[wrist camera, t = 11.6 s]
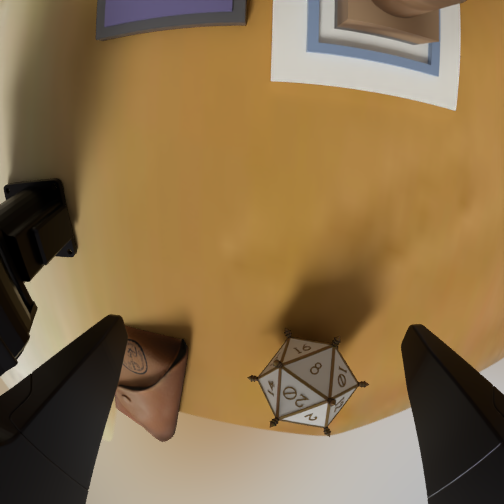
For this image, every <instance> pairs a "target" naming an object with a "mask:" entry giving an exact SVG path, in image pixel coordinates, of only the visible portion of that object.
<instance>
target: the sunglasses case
mask: <svg viewBox="0 0 504 504" xmlns="http://www.w3.org/2000/svg"><path fill="white" fill-rule="evenodd" d="M125 328H126V331H127V334H128V342H127V346H126V351H125V355H124V360H123V365H122V369H121V374H120V379H119V383H118V386H117V389H116V392H115V401H116V408H117V409H118V410H119V411H121V412H122V413H124V414H125V415H127V416H128V417H129V418H131V419H132V420H134V421H135V422H137V423H138V424H139V425H141V426H142V427H144V428H145V429H146V430H147V431H148V432H149V433H150V434H151V435H152V436H154V437H155V438H156V439H158V440H159V441H162V442H163V441H167V440H169V439H171V437H173V435H174V433H175V429H176V425H177V419H178V412H179V406H180V400H181V393H182V388H183V382H184V377H185V370H186V365H187V359H188V357H187V356H188V346H187V344H186V343H185V341H184V339H182V340H181V339H177V338H174V337H170V336H165V335H161V334H157V333H152V332H148V331H144V330H140V329H136V328H132V327H128V326H125Z"/></svg>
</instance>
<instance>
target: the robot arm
mask: <svg viewBox="0 0 504 504" xmlns="http://www.w3.org/2000/svg"><path fill="white" fill-rule="evenodd" d="M55 184H56V185H57V188H56V187H55ZM4 193H5V198H6V201H4V202H3V203H1V204H0V376H1V375H2V374H4V373H5V372H6V371H8V370H9V369H11V368H12V367H14V366H16V365H17V363H18V362H17V359H18V357H19V356H20V355H21V353H22V352H23V350H24V348H25V346H26V344H27V343H28V341H29V338H30V335H29V332H30V329H31V326H32V323H33V320H34V317H35V314H36V311H37V306H36V304H35V302H34V301H32V299H31V297H30V295H29V293H28V291H27V289H26V287H25V285H24V283H25V282H30V281H31V280H32V278H33V277H34V276H35V275H36V274H37V273H38V272H39V271H40V270H41V268H42V267H43V266H44V265H47V264H48V263H49V262H50V261H51V260H52V259H53V258H54V256H60V257H73V256H74V255H75V254H76V253H77V249H76V245H75V241H74V237H73V232H72V228H71V224H70V219H69V215H68V210H67V206H66V201H65V196H64V191H63V185H62V182H61V181H60V180H59V179H57V178H54V179H44V180H34V181H25V182H16V183H9V184H7V185H5V187H4ZM70 250H71V251H72V252H71V251H70ZM127 342H128V334H127V331H126V328H125V324H124V321H123V318H122V317H121V316H120V315H112V314H110V315H108V316H106V317H105V318H103V319H102V320H101V321H99V322H98V323H97V324H95V325H94V326H93V327H91V328H90V329H89V330H87V331H86V332H85V333H83V334H82V335H81V336H79V337H78V338H77V339H75V340H74V341H73V342H71V343H70V344H69V345H67V346H66V347H65V348H63V349H62V350H61V351H59V352H58V353H57V354H55V355H54V356H53V357H52V358H50V359H49V360H48V361H46V362H45V363H44V364H42V365H41V366H40V367H39V368H37V369H36V370H35V371H33V372H32V374H30V375H28V376H27V377H26V378H24V379H23V380H22V381H20V382H19V383H18V384H17V385H15V386H14V387H13V388H11V389H10V390H8V391H7V392H5V393H4V394H2V395H1V396H0V504H86V499H87V494H88V489H89V486H90V481H91V477H92V473H93V469H94V465H95V461H96V457H97V454H98V450H99V446H100V442H101V439H102V436H103V432H104V429H105V425H106V422H107V418H108V415H109V412H110V408H111V405H112V402H113V399H114V396H115V392H116V389H117V386H118V383H119V379H120V374H121V369H122V365H123V360H124V355H125V351H126V346H127ZM401 351H402V358H403V364H404V371H405V378H406V385H407V391H408V395H409V399H410V404H411V408H412V412H413V417H414V422H415V426H416V431H417V436H418V441H419V447H420V452H421V458H422V463H423V469H424V476H425V483H426V489H427V496H428V504H504V394H502V393H501V392H500V391H499V390H498V389H497V388H496V387H495V386H493V385H492V384H491V383H490V382H489V381H488V380H487V379H486V378H484V377H483V376H482V375H480V373H479V372H478V371H477V370H475V369H474V368H473V367H472V366H471V365H470V364H468V363H467V362H466V361H465V360H464V359H463V358H462V357H460V356H459V355H458V354H457V353H456V352H455V351H453V350H452V349H451V348H450V347H449V346H447V345H446V344H445V343H444V342H443V341H442V340H440V339H439V338H438V337H437V336H436V335H434V334H433V333H432V332H431V331H429V330H428V329H427V328H426V327H425V326H423V325H422V324H413V325H410V326H409V328H408V330H407V332H406V334H405V337H404V339H403V341H402V344H401Z"/></svg>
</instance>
